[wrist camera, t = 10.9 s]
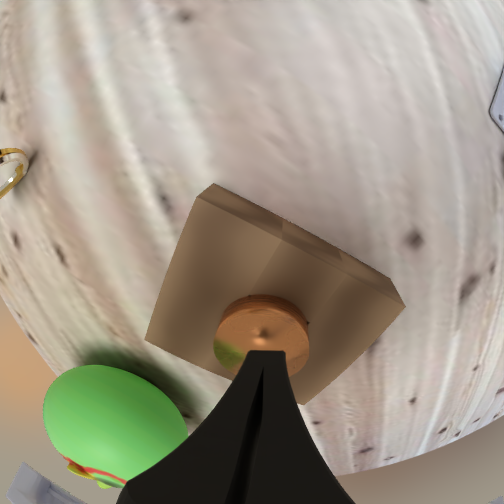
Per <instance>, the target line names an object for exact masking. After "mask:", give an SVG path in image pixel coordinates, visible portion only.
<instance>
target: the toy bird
mask: <svg viewBox="0 0 504 504" xmlns="http://www.w3.org/2000/svg"><path fill="white" fill-rule="evenodd" d="M43 419H44V424H45V428H46V431H47V434H48V436H49V438H50V440H51V442H52V443H53V445H54V446H55V448H56V449H57V451H58V452H59V453H60V454H61V455H62V456H63V457H64V458H65V459H66V460H67V461H68V462H69V463H70V464H69V465H68V466H67V469H68V470H70V471H71V472H72V473H74V474H76V475H79V476H82V477H85V478H89V479H93V480H97V483H98V485H99V487H101V488H103V489H107V488H111V487H116V488H123V487H124V486H125V484H126V482H127V481H128V480H130V479H132V478H134V477H135V476H137V475H139V474H140V473H142V472H144V471H145V470H147V469H149V468H150V467H152V466H153V465H155V464H156V463H157V462H159V461H160V460H161V459H163V458H164V457H165V456H167V455H168V454H169V453H171V452H172V451H173V450H174V449H176V448H177V447H178V446H179V445H180V444H181V443H182V442H183V441H184V440H186V439H187V438H188V437H189V436H188V431H187V427H186V424H185V422H184V419H183V417H182V415H181V414H180V412H179V410H178V409H177V407H176V406H175V405H174V403H173V402H172V401H171V400H170V399H169V398H168V397H167V396H166V395H165V394H164V393H163V392H162V391H161V390H160V389H158V388H157V387H156V386H154V385H153V384H151V383H149V382H148V381H146V380H144V379H143V378H141V377H139V376H137V375H134V374H132V373H130V372H127V371H124V370H121V369H118V368H114V367H110V366H104V365H84V366H79V367H76V368H73V369H70V370H68V371H66V372H65V373H63V374H62V375H60V376H59V377H58V378H57V379H56V380H55V381H54V382H53V383H52V384H51V386H50V387H49V389H48V391H47V393H46V396H45V399H44V404H43Z"/></svg>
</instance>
